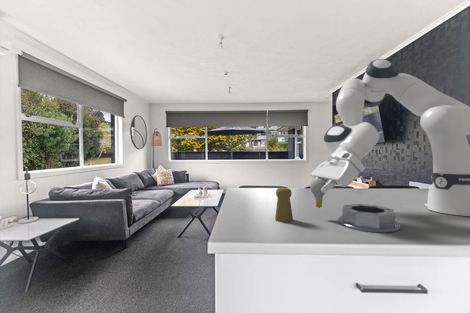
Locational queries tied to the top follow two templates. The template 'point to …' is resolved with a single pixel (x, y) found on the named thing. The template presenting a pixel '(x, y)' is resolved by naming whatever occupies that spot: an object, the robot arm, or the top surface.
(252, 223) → the top surface
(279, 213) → the cork
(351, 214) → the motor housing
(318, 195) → the light bulb
